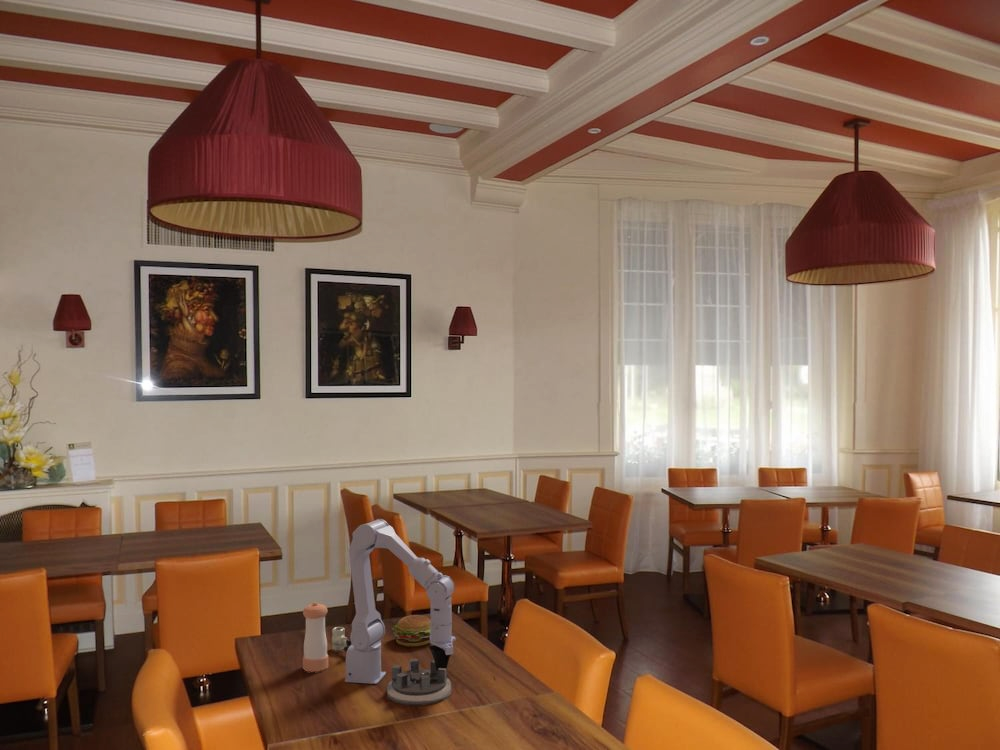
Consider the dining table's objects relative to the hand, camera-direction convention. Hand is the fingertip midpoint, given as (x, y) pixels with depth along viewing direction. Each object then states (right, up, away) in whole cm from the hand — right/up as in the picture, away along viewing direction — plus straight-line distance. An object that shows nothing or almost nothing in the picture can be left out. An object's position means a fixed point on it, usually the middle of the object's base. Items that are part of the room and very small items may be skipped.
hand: (441, 673), depth 207 cm
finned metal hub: (-6, -2, -2) cm, 6 cm away
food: (-11, -5, +38) cm, 40 cm away
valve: (-32, -5, +28) cm, 43 cm away
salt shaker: (-38, -5, +16) cm, 41 cm away
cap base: (-6, -4, -2) cm, 7 cm away
